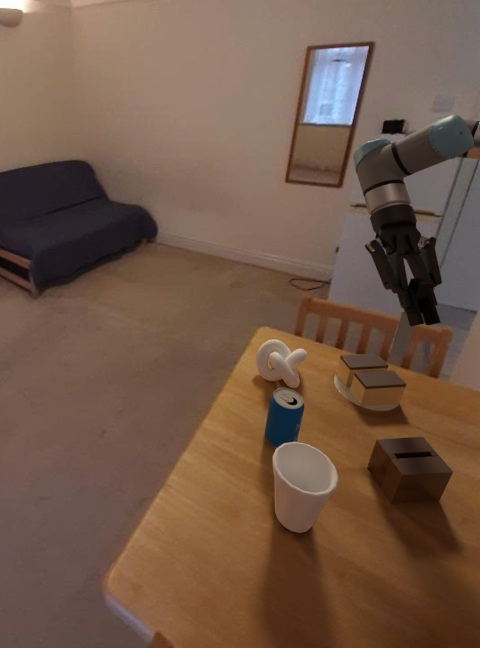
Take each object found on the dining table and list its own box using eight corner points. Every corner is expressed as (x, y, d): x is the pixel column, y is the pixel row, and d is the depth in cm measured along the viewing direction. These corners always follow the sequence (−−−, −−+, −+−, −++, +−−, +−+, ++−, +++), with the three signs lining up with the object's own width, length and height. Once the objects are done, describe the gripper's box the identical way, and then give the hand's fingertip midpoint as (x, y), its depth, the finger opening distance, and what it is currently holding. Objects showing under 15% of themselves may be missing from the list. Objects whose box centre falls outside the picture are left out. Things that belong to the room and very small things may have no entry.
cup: (280, 479, 78) (290, 431, 73) (333, 516, 72) (348, 467, 66) (252, 514, 72) (261, 465, 67) (307, 559, 66) (322, 509, 60)
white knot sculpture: (247, 381, 102) (251, 353, 98) (261, 355, 111) (265, 328, 107) (294, 399, 96) (300, 370, 93) (305, 369, 105) (310, 342, 102)
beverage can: (285, 458, 82) (294, 415, 77) (258, 438, 87) (264, 396, 82) (302, 440, 86) (311, 398, 81) (274, 422, 91) (282, 381, 85)
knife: (401, 348, 84) (425, 277, 77) (409, 356, 82) (434, 283, 75) (385, 349, 84) (407, 278, 77) (392, 357, 82) (416, 284, 74)
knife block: (411, 464, 80) (422, 436, 77) (439, 501, 73) (453, 472, 70) (366, 467, 80) (376, 439, 77) (390, 504, 73) (402, 475, 70)
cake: (371, 371, 103) (376, 353, 100) (399, 404, 93) (406, 384, 90) (335, 373, 102) (340, 355, 100) (360, 406, 93) (366, 386, 90)
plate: (395, 380, 101) (396, 377, 100) (402, 421, 90) (403, 418, 89) (333, 365, 107) (334, 362, 106) (332, 402, 95) (333, 399, 95)
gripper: (413, 216, 87) (449, 325, 79) (343, 220, 86) (372, 330, 79) (440, 200, 80) (482, 318, 72) (363, 204, 79) (397, 323, 71)
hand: (425, 324), depth 75 cm, fingers closed on knife, 2 cm apart
